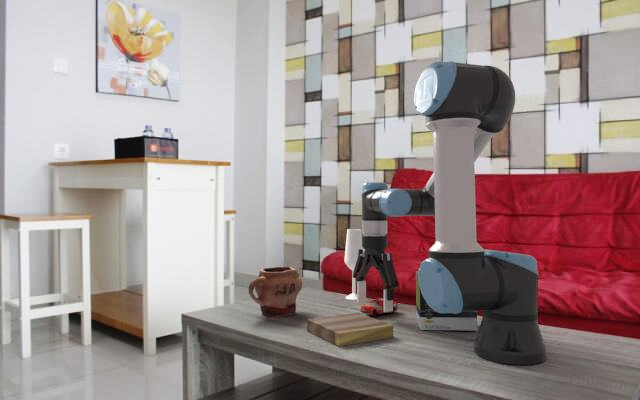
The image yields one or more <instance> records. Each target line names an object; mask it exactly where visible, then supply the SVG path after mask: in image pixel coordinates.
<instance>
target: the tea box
mask: <svg viewBox="0 0 640 400" xmlns="http://www.w3.org/2000/svg"><path fill="white" fill-rule="evenodd" d="M418 273H419V270H416V271H415V291H416V292H415V296H416V297H415V299H416V300H415V302H416V303H415V304H416V306H415V307H416V308H415V311H416V312H415V313H416V323H417V324H418V326H419V330H421V331H425V330H426V331H472V332H473V331H475V332H478V311H472V312H461V313H458V314H453V313H439V312H436V311H434V310H433V309H432V308H431V307H430V306H429V305H428V304H427V302H426V300H425V299H424V297H423V295H422V293H421V290H420V286H419V280H418Z"/></svg>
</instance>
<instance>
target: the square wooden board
mask: <svg viewBox="0 0 640 400" xmlns="http://www.w3.org/2000/svg"><path fill="white" fill-rule="evenodd" d="M306 331H307V332H308V333H311V334H313V335H314V336H316V337H319V338H321V339H323V340H326V341H327V342H328V343H331V344H333V345H335V346H337V347H341V346H348V345H354V344H361V343H368V342H373V341H379V340H386V339H390V338H391V339H392V338H394V324H391V323H388V322H385V321H382V320H380V319H376V318H374V317H371V316H370V315H369V316H368V315H365V314H364V313H361V312H360V313H359V312H355V313H347V314H339V315H331V316H324V317H316V318H315V317H314V318H308V319H306Z"/></svg>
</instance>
